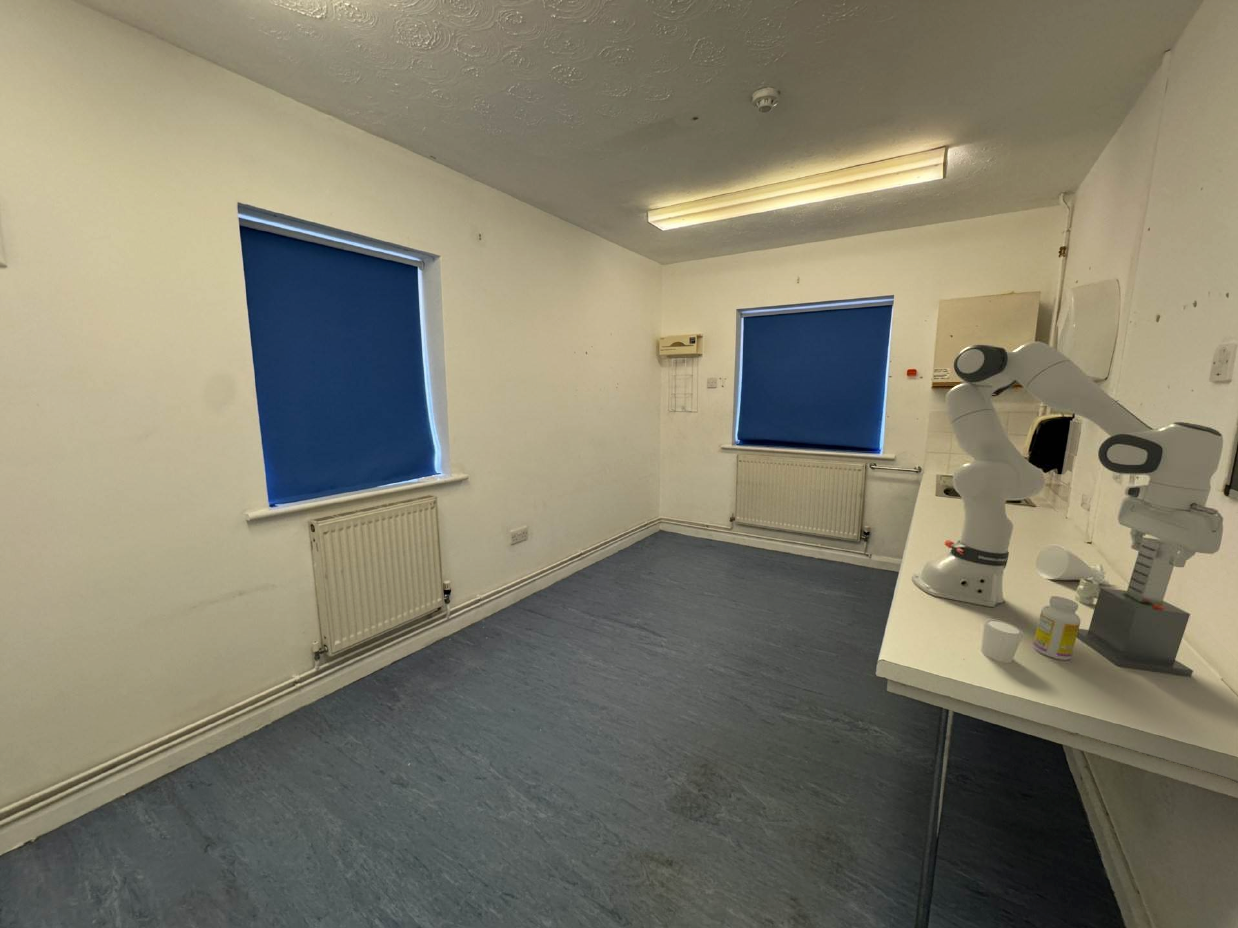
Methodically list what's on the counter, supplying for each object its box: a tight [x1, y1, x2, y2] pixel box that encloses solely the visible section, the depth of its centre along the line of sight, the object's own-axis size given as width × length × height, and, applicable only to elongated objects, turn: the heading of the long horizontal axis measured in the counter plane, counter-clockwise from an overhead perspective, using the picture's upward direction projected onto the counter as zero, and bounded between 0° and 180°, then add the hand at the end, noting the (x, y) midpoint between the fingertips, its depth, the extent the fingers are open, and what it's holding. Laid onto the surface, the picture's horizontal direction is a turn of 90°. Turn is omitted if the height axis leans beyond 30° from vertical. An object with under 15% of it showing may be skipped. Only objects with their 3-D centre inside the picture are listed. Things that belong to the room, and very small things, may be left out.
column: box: [1125, 537, 1180, 605], centre depth 109 cm, size 4×4×20 cm
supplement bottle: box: [1032, 595, 1081, 661], centre depth 109 cm, size 7×7×13 cm
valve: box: [1074, 578, 1100, 606], centre depth 136 cm, size 7×7×12 cm
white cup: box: [980, 618, 1024, 664], centre depth 107 cm, size 7×7×7 cm
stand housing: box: [1076, 587, 1194, 678], centre depth 111 cm, size 14×14×14 cm
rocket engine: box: [1035, 543, 1110, 587], centre depth 155 cm, size 12×12×18 cm
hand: (1155, 557), depth 108 cm, fingers open, 8 cm apart
